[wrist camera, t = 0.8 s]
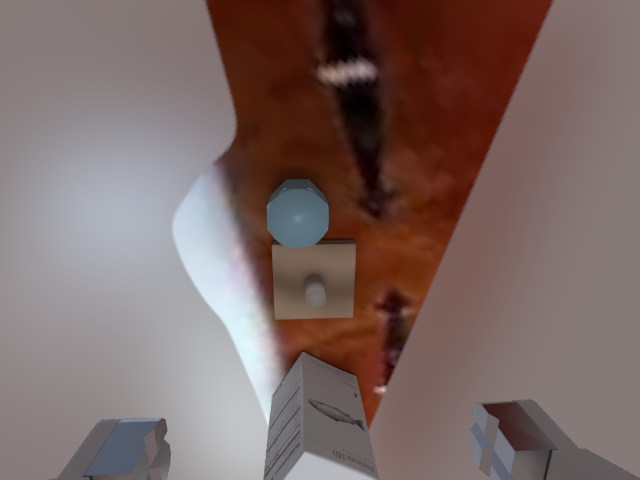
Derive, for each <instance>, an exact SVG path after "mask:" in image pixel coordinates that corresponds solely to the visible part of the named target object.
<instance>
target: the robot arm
mask: <svg viewBox="0 0 640 480" xmlns="http://www.w3.org/2000/svg"><path fill="white" fill-rule="evenodd" d="M472 416H473V417H474V419H475V421H476V423H475V424H474V425H473V426H472V427H471V429H470V434H469V443H470V449H471V453H472V456H473V458H474V461H475V463H476V464H477V466H478V468H479V469H480V470H481V471H483V472H484V473H485V474H486V475H488V476H489V480H640V478H639V477H637V476H635V475H633V474H631V473H629V472H628V471H626V470H624V469H622V468H620V467H618V466H617V465H615V464H613V463H611V462H609V461H607V460H606V459H604V458H602V457H600V456H598V455H596V454H594V453H592V452H591V451H589V450H587V449H579V448H578V447H577V446H576V445H575V443H574V442H572V440H571V439H570V438H569V437H568V436H567V435H566V434H565V433H564V432H563V431H562V430H561V429H560V427H559V426H558V425H557V424H556V423H555V422H554V421H553V420H552V419H551V418H550V417H549V416H548V415H547V413H546V412H545V411H544V410H543V409H542V408H541V407H540V406H539V405H538V404H537V403H536V402H535V401H533V400H531V399H527V400H513V401H501V402H482V403H476V404H475V405H474V407H473V412H472ZM166 433H167V426H166V420H165V419H163V418H136V419H135V418H134V419H110V420H101V421H100V422H98V423H97V424H96V425H95V426H94V428H93V429H92V431H91V432H90V433H89V435H88V436H87V437H86V439H85V440H84V442H83V443H82V444H81V446H80V447H79V449H78V450H77V451H76V453H75V454H74V456H73V457H72V458H71V460H70V461H69V463H68V464H67V465H66V467H65V468H64V469H63V471H62V472H61V474H60V475H59V476H58V478H57V479H50V480H166V479H167V477H168V472H169V467H170V455H171V452H170V445H169V444H168V443H167V442H166V441H165V440H164V437H165V435H166Z"/></svg>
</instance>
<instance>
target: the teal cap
mask: <svg viewBox="0 0 640 480" xmlns="http://www.w3.org/2000/svg"><path fill="white" fill-rule="evenodd" d="M328 206H329V205H328V203H327V200H326V198H325V195H324V194H323V193H322V192H321V191H320V190H319V189H318V188H317V187H316V186H315V185H314V184H313V183H312V182H311V181H310V180H309V179H286V180H285V181H284V182H283V183H282V184H281V185H280V186H279V187H278V188H277V189H276V190H275V191H274V192H273V193H272V194H271V196H270V199H269V201H268V204H267V225H268V231H269V232H270V233H271V234H272V236H273V237H274V238H275V239H276V240H277V241H278V242H279V243H280V244H282V245H284V246H286V247H289V248H294V249H302V248H307V247H311V246H312V245H314V244H315V243H317V242H318V241H319V240H320V239H321V238H322V237H323V236H324V234H325V232H326V231H327V230H328V223H329V215H328Z"/></svg>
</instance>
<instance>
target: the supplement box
mask: <svg viewBox="0 0 640 480" xmlns="http://www.w3.org/2000/svg"><path fill="white" fill-rule="evenodd" d="M264 480H379V477H378V473H377V468H376V464H375V459H374V455H373V450H372V446H371V442H370V437H369V432H368V428H367V423H366V419H365V414H364V410H363V405H362V400H361V396H360V391H359V387H358V382H357V378H356V376H355V375H352V374H349V373H347V372H345V371H342V370H340V369H338V368H336V367H333V366H331V365H329V364H327V363H325V362H323V361H321V360H319V359H317V358H315V357H313V356H311V355H309V354H307V353H305V352H302V353H301V355H300V356H299V358H298V359H297V360H296V362H295V363H294V365H293V366H292V368H291V369H290V371H289V372H288V374H287V375H286V377H285V378H284V380H283V381H282V383H281V384H280V386H279V387H278V389H277V390H276V392H275V393H274V395H273V396H272V404H271V413H270V421H269V430H268V441H267V450H266V460H265V470H264Z"/></svg>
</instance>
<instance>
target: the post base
mask: <svg viewBox="0 0 640 480" xmlns="http://www.w3.org/2000/svg"><path fill="white" fill-rule="evenodd" d="M355 259H356V243H355V241H354V240H319V241H318V242H317V243H315V244H314V245H312V246H311V247H307V248H302V249H294V248H289V247H286V246H284V245H282V244H280V243H279V242H278V241H273V242H272V263H273V288H274V313H275V320H276V319H311V318H347V317H353V306H354V282H355Z"/></svg>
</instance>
